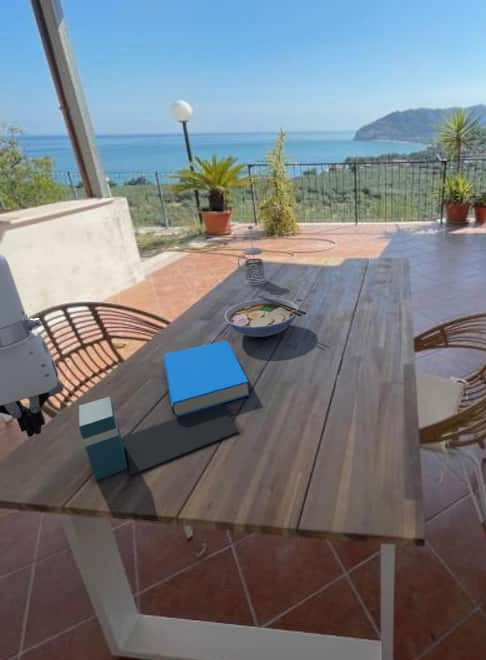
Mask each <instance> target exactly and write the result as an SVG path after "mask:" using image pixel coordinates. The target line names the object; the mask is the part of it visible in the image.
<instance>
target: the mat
mask: <svg viewBox="0 0 486 660" xmlns="http://www.w3.org/2000/svg"><path fill="white" fill-rule="evenodd" d="M237 434H239V430H238V428H237V426H236V425H235V423H234V422H233V420H232V418H231V416H230V414H229V412H228V411H227V409H226V407H225V405H224V403H222V404H219V405H215V406H212V407H209V408H205V409H202V410H199V411H195V412H192V413H189V414H185V415H182V416H179V417H176V418H174V419H171V420H167V421H165V422H162V423H160V424H157V425H154V426H150V427H147V428H145V429H143V430H139V431H137V432H134V433H131V434H128V435H125V436H124V437H123V439H124V447H125V453H126V459H127V465H128V471H129V475H130V477H132V476H135V475H138V474H141V473H142V472H144V471H145V472H146V471H148V470H150V469H153V468H155V467H157V466H160V465H163V464H165V463H167V462H170V461H173V460H175V459H177V458H180V457H183V456H185V455H186V454H190V453H192V452H195V451H197V450H199V449H203V448H204V447H207V446H209V445H212V444H214V443H217V442H220V441H221V440H224V439H227V438H229V437H232V436H234V435H237Z"/></svg>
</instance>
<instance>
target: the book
mask: <svg viewBox="0 0 486 660" xmlns="http://www.w3.org/2000/svg"><path fill="white" fill-rule="evenodd" d="M163 363H164V369H165V374H166V382H167V387H168V388H167V389H168V393H169V400H170V406H171V411H172V414H173V415H174V416H175V417H176V418H179V417H182V416H185V415H188V414H190V413H193V412H196V411H199V410H202V409H205V408H209V407H212V406H215V405H219V404H224V403H225V404H226V403H228V402H231V401H235V400H238V399H242V398H245V397H248V396H251V393H250V391H249V386H248V384H249V380H248V378H247V376H246V374H245V372H244V370H243V369H242V367H241V364H240V362H239V361H238V359H237V357H236V355H235V354H234V351H233V349H232V347H231V345H230V343H229V341H228V340H221V341H217V342H212V343H208V344H204V345H200V346H194V347H191V348H186V349H182V350H177V351H173V352H169V353H165V354H164V357H163Z"/></svg>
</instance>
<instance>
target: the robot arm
mask: <svg viewBox="0 0 486 660" xmlns="http://www.w3.org/2000/svg"><path fill="white" fill-rule="evenodd" d="M38 327H42V321H41V318H40V317H36V318H31V317H30V316H28V314H27V313H26V311H25V308H24V305H23V302H22V299H21V297H20V294H19V290H18V287H17V285H16V282H15V279H14V276H13V272H12V270H11V267H10V265H9V262H8V260H7V258H6V257H5V256H4V255H3V254H1V253H0V414H3V415H7V416H10V417H11V418H12V419H14V420H16V422H17V423H18V426H19V429H20V431H21V432H26V436H27V437H28V438H30V437H33V436H34V435H40V434H42V426H45V425H46V419H45V416H44V414H43V410H42V407H43V406H44V405H45V404H46V402H47V401H48V400H49V398H51V397H55V396H56V395H58V394H60V393H62V392H63V391H64V384H63V383H62V381H61V380H60V379H59V371H58V368H57V364H56V362H55V360H54V357H53V355H52V353H51V351H50V349H49V346H48V345H47V343H46V341H45V339H44V337H43V336H42V334H41V332H40V331H39V330H37V329H36V328H38ZM26 399H28V403H29V408H28V407H27V406H24V404H23V402H22V400H26Z"/></svg>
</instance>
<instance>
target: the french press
mask: <svg viewBox="0 0 486 660" xmlns="http://www.w3.org/2000/svg"><path fill="white" fill-rule="evenodd" d="M247 229H248V230H249V231H250V233H252V230H253V226H252V225H249V226H247ZM250 239H251V240H250V241H251V242H253V238H252V236H250ZM262 253H263V250H262V249H260V248H257V247H254V246H253V245H251V248H250V247H249V248H247V249H245V250H244V251H243V254H242V255H241V256H240V257H238V261H237V266H238V268H239V270H240V271H241V272H243V273H245V280H244V284H245V285H247V286H260V285H263V284H266V283H267V282H268V279H267V278H265V279H264V277H265V268H264V262H263V259H261V258H255V256H256V255H261V254H262ZM245 255H246V256H252V258H249V259H246V256H245ZM242 258H243V259H246V260H245V265H244V266H245V267H244V268H245V269H243V268H242V266H240V259H242ZM251 275H256V276H262V277H255V276H251ZM248 276H249V277H248ZM251 277H253V278H257V279H262V278H263V279H264V280H263V281H260V282H248V281H246V279H247V280H250V281H259V280H256V279H248V278H251Z"/></svg>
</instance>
